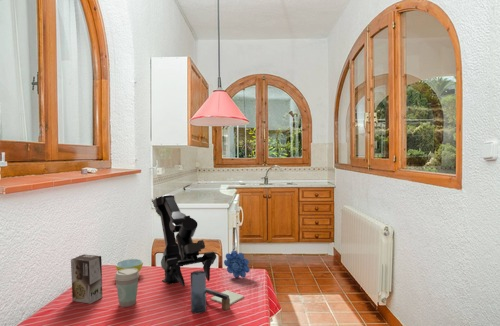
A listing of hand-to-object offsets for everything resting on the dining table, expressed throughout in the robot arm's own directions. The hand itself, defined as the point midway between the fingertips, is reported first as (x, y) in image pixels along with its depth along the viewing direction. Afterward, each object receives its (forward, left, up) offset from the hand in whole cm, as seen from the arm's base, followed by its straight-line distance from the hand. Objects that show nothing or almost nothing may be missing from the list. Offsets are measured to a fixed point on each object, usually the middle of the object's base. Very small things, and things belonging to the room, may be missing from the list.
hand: (196, 283), depth 116 cm
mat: (+3, +12, -9) cm, 16 cm away
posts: (+2, +6, -9) cm, 11 cm away
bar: (+2, +6, -5) cm, 8 cm away
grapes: (-7, +30, -9) cm, 32 cm away
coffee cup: (-24, -13, -9) cm, 28 cm away
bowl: (-48, +3, -9) cm, 49 cm away
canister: (+1, -1, -9) cm, 9 cm away
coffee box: (-40, -20, -9) cm, 45 cm away
